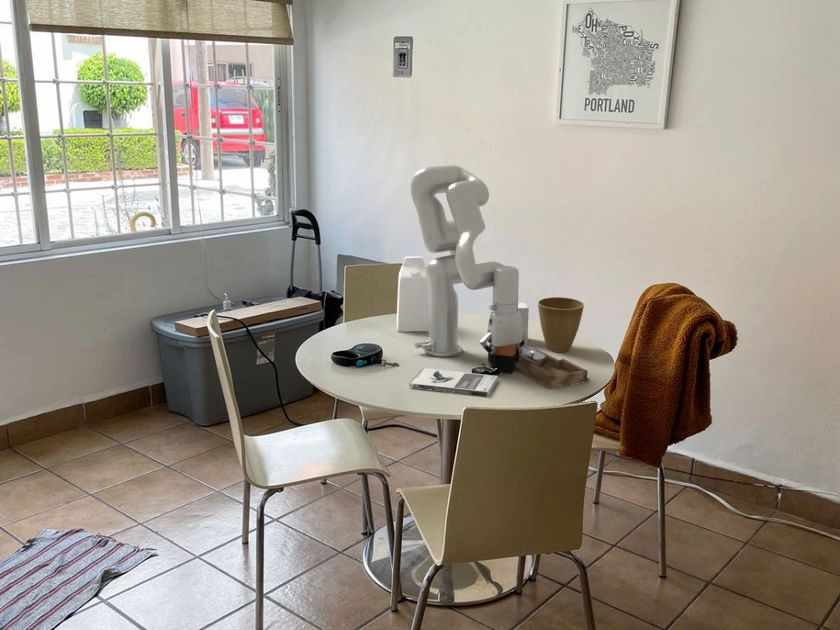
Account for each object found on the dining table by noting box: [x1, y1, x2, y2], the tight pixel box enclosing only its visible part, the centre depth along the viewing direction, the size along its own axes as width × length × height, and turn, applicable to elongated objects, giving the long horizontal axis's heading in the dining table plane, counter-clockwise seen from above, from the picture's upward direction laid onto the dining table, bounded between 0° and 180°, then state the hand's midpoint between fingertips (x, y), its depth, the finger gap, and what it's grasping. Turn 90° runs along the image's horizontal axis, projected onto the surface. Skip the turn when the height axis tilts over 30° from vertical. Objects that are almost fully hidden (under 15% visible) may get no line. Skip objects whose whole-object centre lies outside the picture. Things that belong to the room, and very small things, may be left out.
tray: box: [514, 347, 590, 390], centre depth 238 cm, size 14×25×4 cm, turn 25°
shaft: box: [519, 344, 547, 366], centre depth 244 cm, size 4×10×4 cm, turn 25°
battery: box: [490, 344, 516, 375], centre depth 238 cm, size 4×7×10 cm, turn 69°
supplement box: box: [518, 302, 529, 345], centre depth 268 cm, size 7×7×13 cm
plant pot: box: [537, 296, 585, 353], centre depth 258 cm, size 15×15×16 cm
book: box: [408, 368, 498, 397], centre depth 228 cm, size 23×14×2 cm, turn 73°
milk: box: [396, 256, 429, 332], centre depth 282 cm, size 12×12×26 cm
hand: (503, 363), depth 239 cm, fingers closed on battery, 7 cm apart
